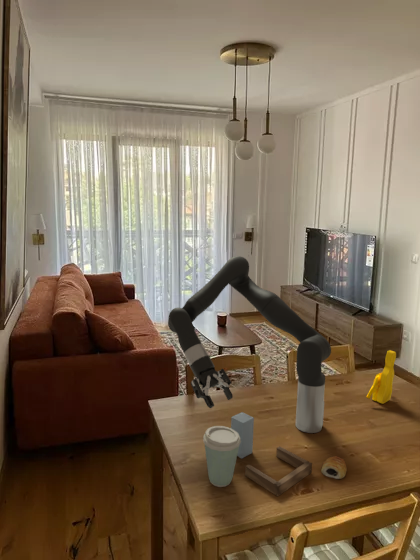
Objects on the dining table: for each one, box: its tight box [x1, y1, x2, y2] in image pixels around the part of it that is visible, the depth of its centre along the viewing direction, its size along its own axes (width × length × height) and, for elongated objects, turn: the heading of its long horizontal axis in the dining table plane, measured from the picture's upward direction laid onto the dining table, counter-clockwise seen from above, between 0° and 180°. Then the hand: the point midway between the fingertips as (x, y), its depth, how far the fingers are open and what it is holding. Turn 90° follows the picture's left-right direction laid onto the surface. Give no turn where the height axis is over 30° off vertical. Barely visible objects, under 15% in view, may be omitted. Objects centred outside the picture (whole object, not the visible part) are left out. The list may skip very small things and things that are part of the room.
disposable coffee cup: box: [202, 425, 241, 488], centre depth 120 cm, size 11×11×15 cm
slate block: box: [230, 411, 255, 459], centre depth 135 cm, size 5×5×12 cm
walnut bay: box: [244, 445, 313, 497], centre depth 125 cm, size 16×12×3 cm
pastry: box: [320, 455, 348, 480], centre depth 128 cm, size 9×7×4 cm
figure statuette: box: [365, 349, 397, 405], centre depth 173 cm, size 18×8×22 cm, turn 131°
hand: (221, 403), depth 141 cm, fingers open, 8 cm apart
